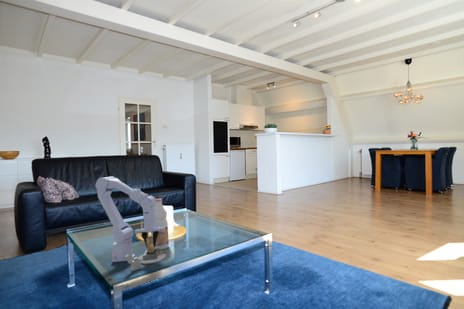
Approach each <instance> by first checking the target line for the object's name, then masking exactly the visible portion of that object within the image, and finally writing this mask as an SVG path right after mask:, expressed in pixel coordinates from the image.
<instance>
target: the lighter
mask: <svg viewBox="0 0 464 309" xmlns="http://www.w3.org/2000/svg"><path fill="white" fill-rule="evenodd" d="M138 257H139V256H138ZM138 257H137V256H134V257H133V259H131V257H130V256H129V255H128V254H127V255H126V256H125V258H126V260H127V261H126V262H127V263H128V264H129V265H130V266H131V267H130V268H131V270H130V271H132V272H134V271H138V270H140V269H141V268H142V266H141V265H142V264H141V260H140V258H138Z"/></svg>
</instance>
